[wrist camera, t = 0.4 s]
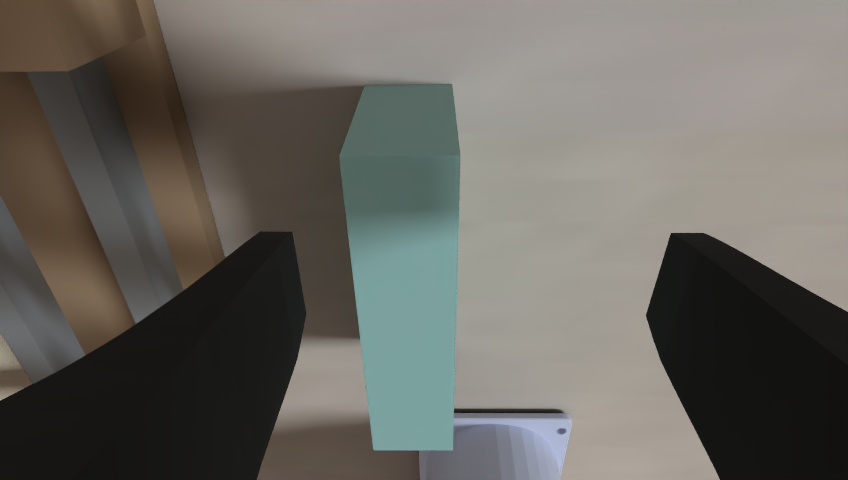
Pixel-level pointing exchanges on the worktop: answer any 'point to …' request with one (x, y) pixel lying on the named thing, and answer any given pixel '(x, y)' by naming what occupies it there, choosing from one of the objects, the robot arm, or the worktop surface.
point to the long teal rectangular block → (405, 258)
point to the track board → (92, 178)
